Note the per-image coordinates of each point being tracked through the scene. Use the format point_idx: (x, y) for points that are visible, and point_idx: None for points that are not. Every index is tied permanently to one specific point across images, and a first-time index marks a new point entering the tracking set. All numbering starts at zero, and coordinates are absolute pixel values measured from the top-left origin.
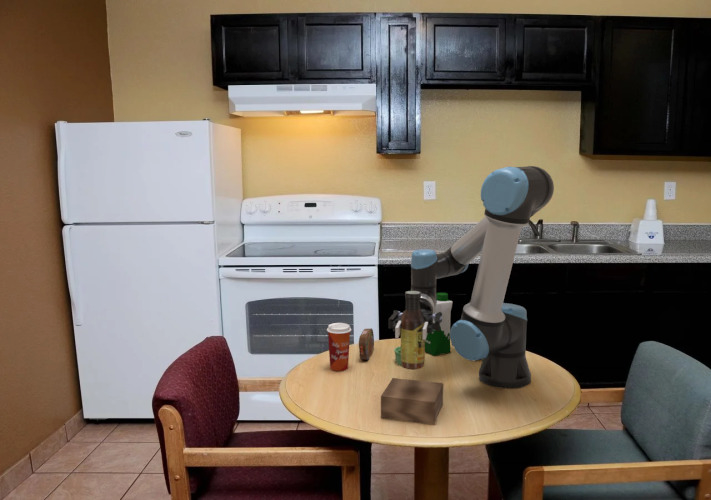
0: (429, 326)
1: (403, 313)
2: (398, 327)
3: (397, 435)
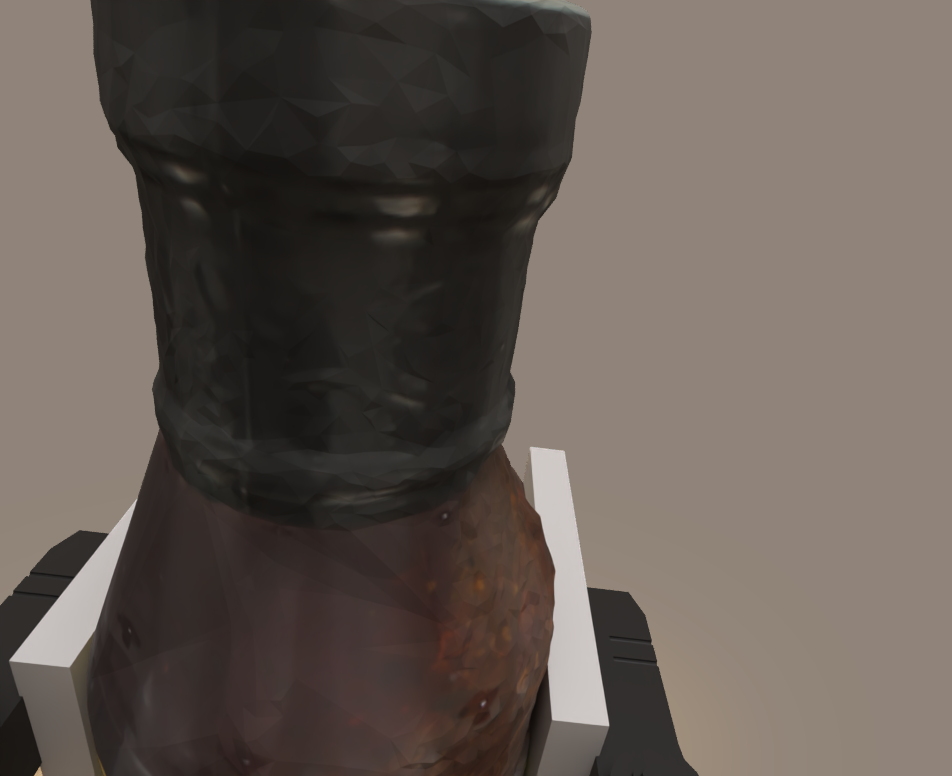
0: (59, 592)
1: (528, 509)
2: (530, 463)
3: None
